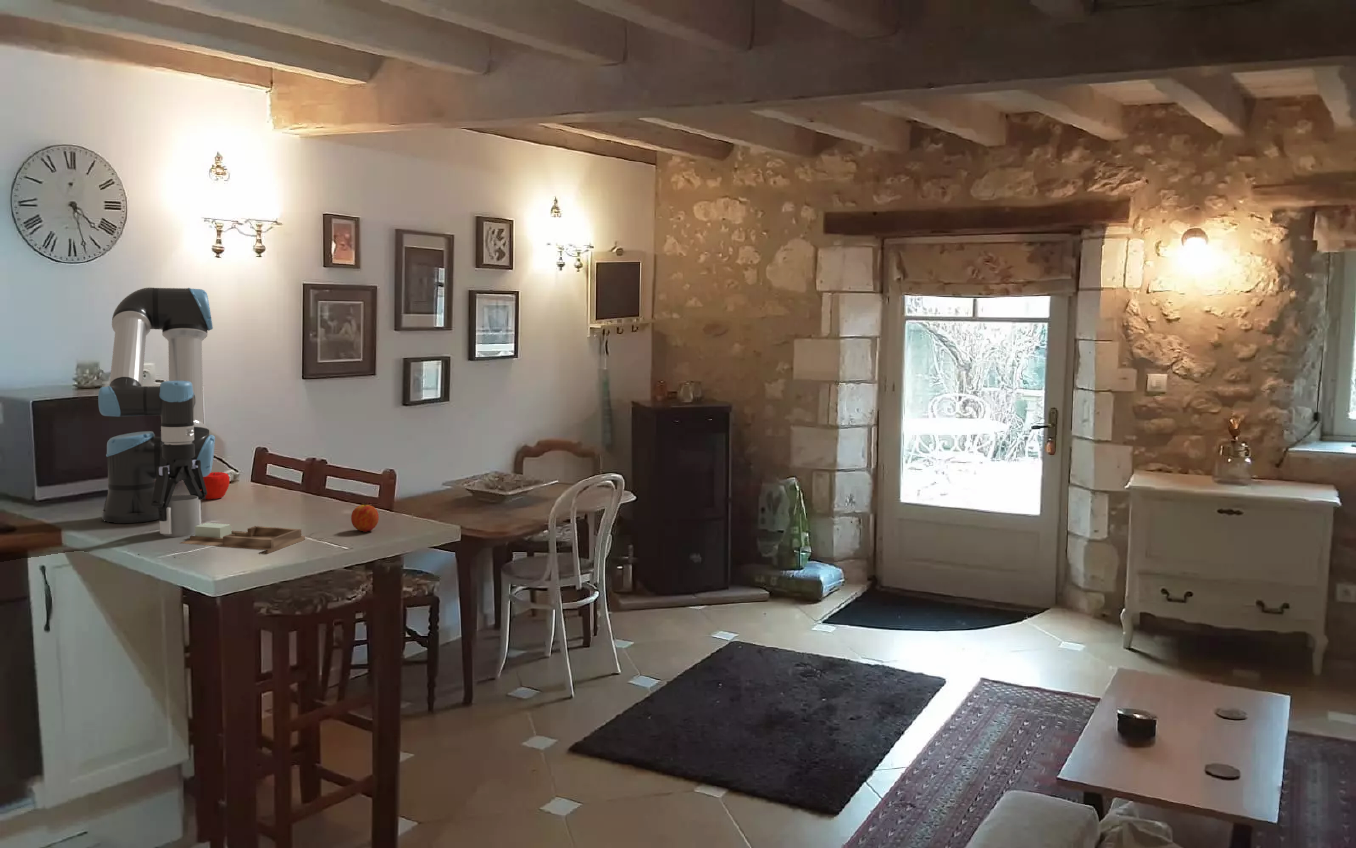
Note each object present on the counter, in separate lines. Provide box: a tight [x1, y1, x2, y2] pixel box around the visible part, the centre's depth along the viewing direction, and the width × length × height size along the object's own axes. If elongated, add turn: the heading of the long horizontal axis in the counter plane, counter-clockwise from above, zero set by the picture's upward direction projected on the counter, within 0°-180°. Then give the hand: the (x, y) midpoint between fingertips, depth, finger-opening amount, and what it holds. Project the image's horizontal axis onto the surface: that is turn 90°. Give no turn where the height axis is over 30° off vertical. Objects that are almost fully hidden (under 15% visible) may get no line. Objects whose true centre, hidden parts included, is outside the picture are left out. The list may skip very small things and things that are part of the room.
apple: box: [200, 471, 230, 501], centre depth 326 cm, size 9×9×8 cm
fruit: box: [350, 500, 380, 533], centre depth 285 cm, size 7×7×8 cm
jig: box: [180, 525, 306, 555], centre depth 268 cm, size 24×16×3 cm, turn 77°
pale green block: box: [194, 522, 232, 538], centre depth 270 cm, size 7×4×3 cm, turn 77°
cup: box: [162, 494, 199, 538], centre depth 274 cm, size 8×8×10 cm
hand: (181, 529), depth 274 cm, fingers open, 11 cm apart
